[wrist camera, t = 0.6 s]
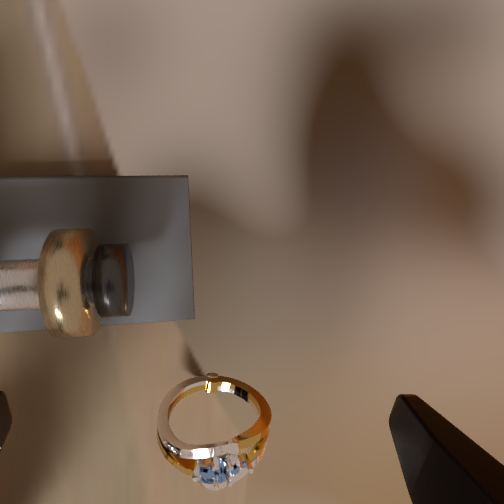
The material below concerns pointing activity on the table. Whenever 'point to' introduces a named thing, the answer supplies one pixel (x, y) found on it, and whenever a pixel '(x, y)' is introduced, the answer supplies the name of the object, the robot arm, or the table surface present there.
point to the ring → (221, 453)
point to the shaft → (71, 282)
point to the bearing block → (107, 235)
